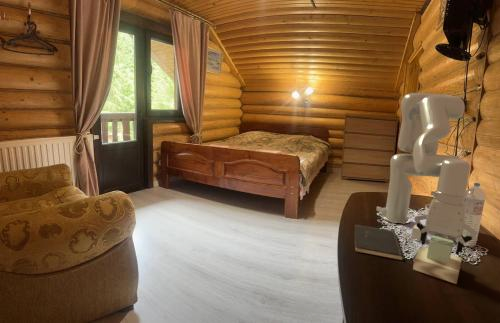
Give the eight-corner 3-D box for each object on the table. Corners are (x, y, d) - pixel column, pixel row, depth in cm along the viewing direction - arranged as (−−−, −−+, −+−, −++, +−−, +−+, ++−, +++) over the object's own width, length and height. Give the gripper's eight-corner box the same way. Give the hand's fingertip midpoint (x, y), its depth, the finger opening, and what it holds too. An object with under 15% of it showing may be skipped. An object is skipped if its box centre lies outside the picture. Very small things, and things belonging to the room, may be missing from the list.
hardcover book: (354, 252, 110) (354, 246, 110) (354, 229, 132) (354, 224, 131) (402, 262, 106) (403, 255, 105) (394, 236, 127) (395, 231, 127)
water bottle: (472, 242, 124) (484, 182, 119) (478, 249, 118) (491, 186, 113) (452, 238, 126) (464, 180, 122) (457, 245, 120) (469, 184, 115)
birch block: (412, 269, 100) (414, 258, 99) (419, 256, 109) (421, 246, 108) (456, 284, 92) (458, 272, 92) (459, 268, 102) (461, 257, 101)
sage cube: (426, 257, 100) (429, 240, 98) (429, 251, 104) (432, 235, 103) (448, 264, 96) (451, 246, 95) (450, 257, 101) (453, 240, 99)
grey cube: (411, 239, 124) (412, 227, 123) (413, 235, 127) (415, 224, 127) (424, 243, 121) (426, 231, 120) (427, 239, 124) (429, 227, 124)
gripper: (416, 194, 99) (408, 243, 102) (483, 208, 88) (471, 262, 92) (421, 190, 104) (413, 236, 108) (483, 202, 94) (472, 253, 97)
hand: (439, 248), depth 100 cm, fingers open, 9 cm apart
